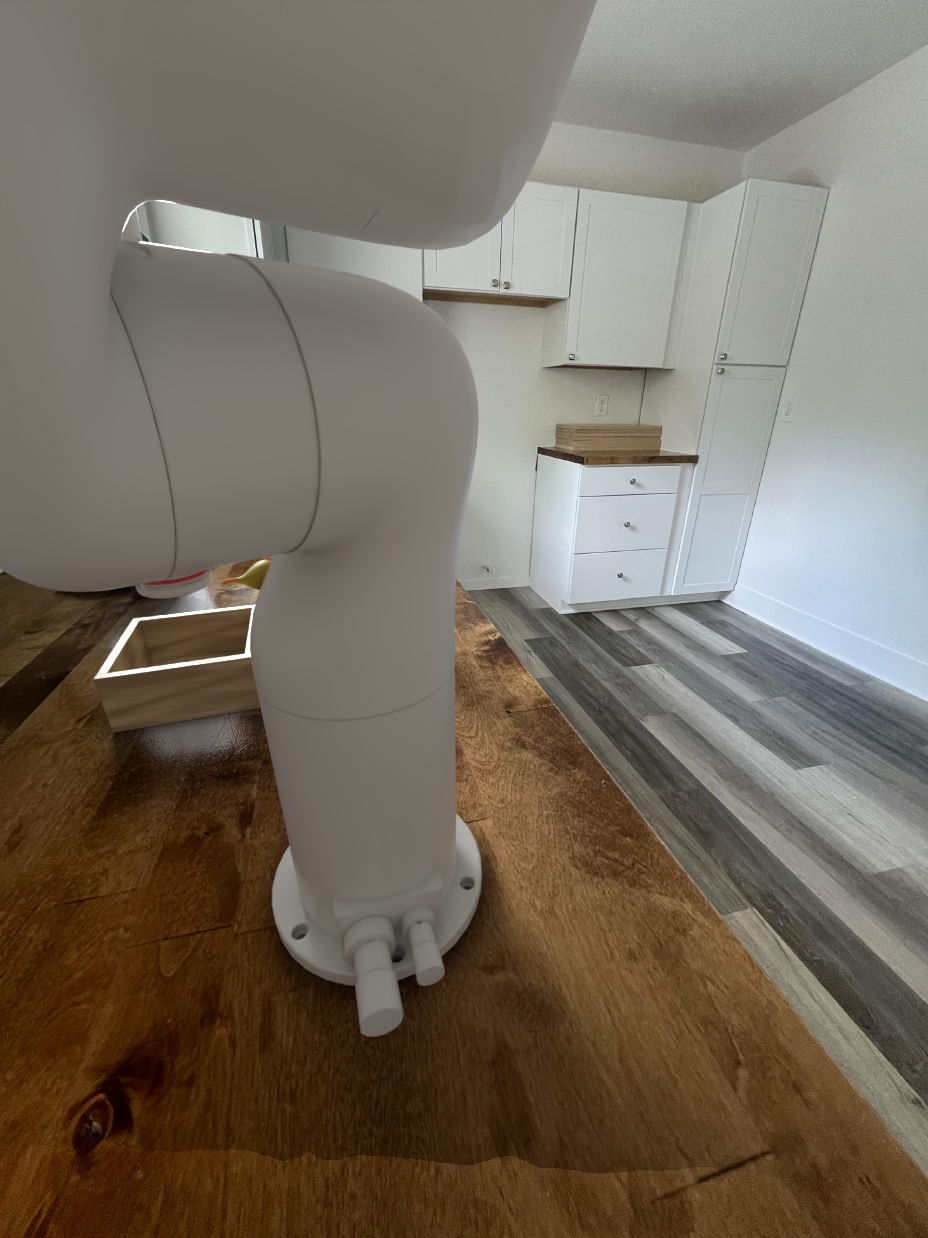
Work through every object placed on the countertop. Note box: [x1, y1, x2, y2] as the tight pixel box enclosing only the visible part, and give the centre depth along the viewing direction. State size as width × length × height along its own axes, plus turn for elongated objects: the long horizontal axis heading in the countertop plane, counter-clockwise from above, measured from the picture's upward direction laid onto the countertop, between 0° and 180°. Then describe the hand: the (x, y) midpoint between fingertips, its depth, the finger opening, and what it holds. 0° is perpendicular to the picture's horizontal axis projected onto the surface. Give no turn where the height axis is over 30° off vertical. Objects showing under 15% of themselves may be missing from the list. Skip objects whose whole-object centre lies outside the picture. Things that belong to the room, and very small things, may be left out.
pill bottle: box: [135, 570, 211, 600], centre depth 45 cm, size 6×6×11 cm
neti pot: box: [221, 559, 272, 591], centre depth 70 cm, size 4×15×6 cm, turn 131°
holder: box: [92, 604, 261, 733], centre depth 50 cm, size 13×13×6 cm
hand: (158, 525), depth 44 cm, fingers closed on pill bottle, 6 cm apart
